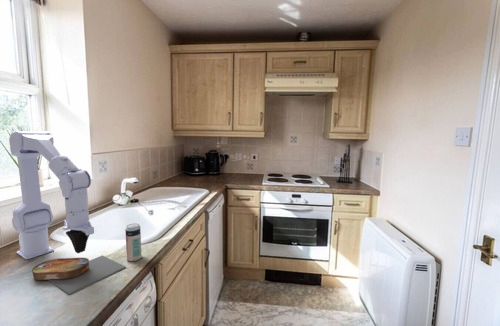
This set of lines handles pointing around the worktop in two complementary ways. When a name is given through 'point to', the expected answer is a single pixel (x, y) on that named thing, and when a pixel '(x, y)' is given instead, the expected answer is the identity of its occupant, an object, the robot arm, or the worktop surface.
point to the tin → (60, 268)
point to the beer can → (133, 242)
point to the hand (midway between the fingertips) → (80, 251)
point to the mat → (89, 275)
